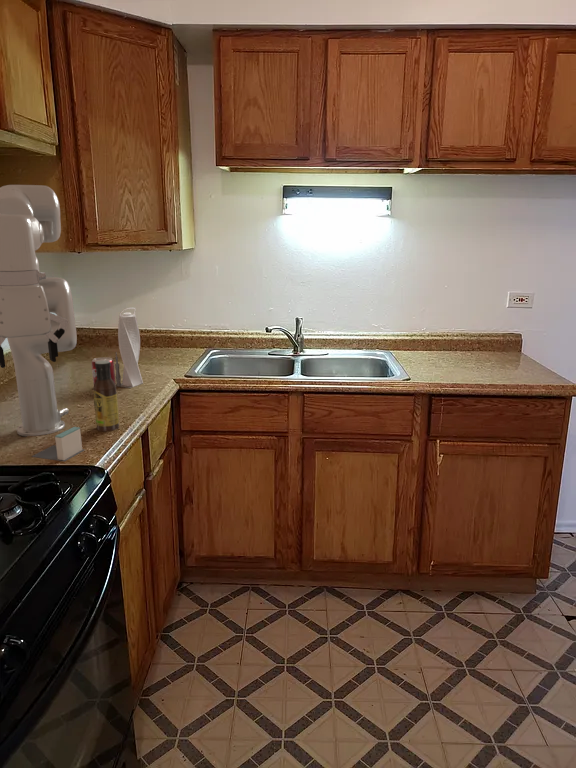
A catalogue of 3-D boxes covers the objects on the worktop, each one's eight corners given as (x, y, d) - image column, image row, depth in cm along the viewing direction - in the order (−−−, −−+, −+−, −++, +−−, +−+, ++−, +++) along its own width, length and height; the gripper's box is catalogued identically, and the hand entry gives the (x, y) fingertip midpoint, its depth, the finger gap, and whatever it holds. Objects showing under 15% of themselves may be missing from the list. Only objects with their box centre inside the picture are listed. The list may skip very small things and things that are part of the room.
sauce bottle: (94, 428, 165) (88, 360, 160) (117, 424, 168) (111, 357, 163) (99, 435, 160) (92, 365, 155) (122, 431, 163) (116, 362, 157)
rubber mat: (53, 447, 151) (53, 445, 151) (85, 451, 148) (85, 449, 148) (31, 458, 144) (31, 456, 144) (64, 463, 141) (64, 461, 141)
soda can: (107, 397, 195) (104, 362, 192) (89, 395, 197) (86, 361, 194) (120, 391, 202) (118, 358, 198) (103, 389, 204) (100, 356, 201)
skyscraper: (130, 381, 216) (125, 306, 209) (148, 383, 213) (142, 307, 205) (115, 386, 209) (108, 309, 201) (132, 389, 205) (126, 310, 198)
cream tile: (76, 449, 148) (74, 426, 147) (82, 450, 148) (79, 427, 146) (57, 459, 142) (55, 436, 140) (63, 460, 141) (61, 436, 140)
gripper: (59, 276, 122) (68, 355, 127) (-33, 280, 113) (-21, 365, 118) (67, 278, 116) (75, 361, 121) (-30, 283, 107) (-17, 372, 112)
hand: (28, 363), depth 119 cm, fingers open, 9 cm apart
